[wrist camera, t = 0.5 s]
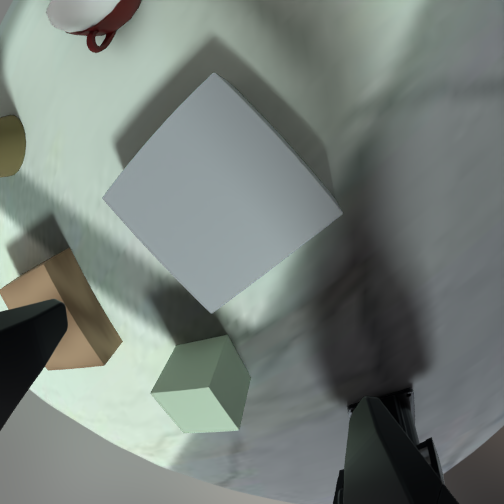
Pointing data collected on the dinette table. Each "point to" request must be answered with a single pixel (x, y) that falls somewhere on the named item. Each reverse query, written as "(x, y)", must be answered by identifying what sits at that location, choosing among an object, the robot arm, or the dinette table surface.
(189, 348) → the green cube
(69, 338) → the walnut block
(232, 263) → the grey block
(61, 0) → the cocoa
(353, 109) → the dinette table surface
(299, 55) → the dinette table surface
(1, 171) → the cork
